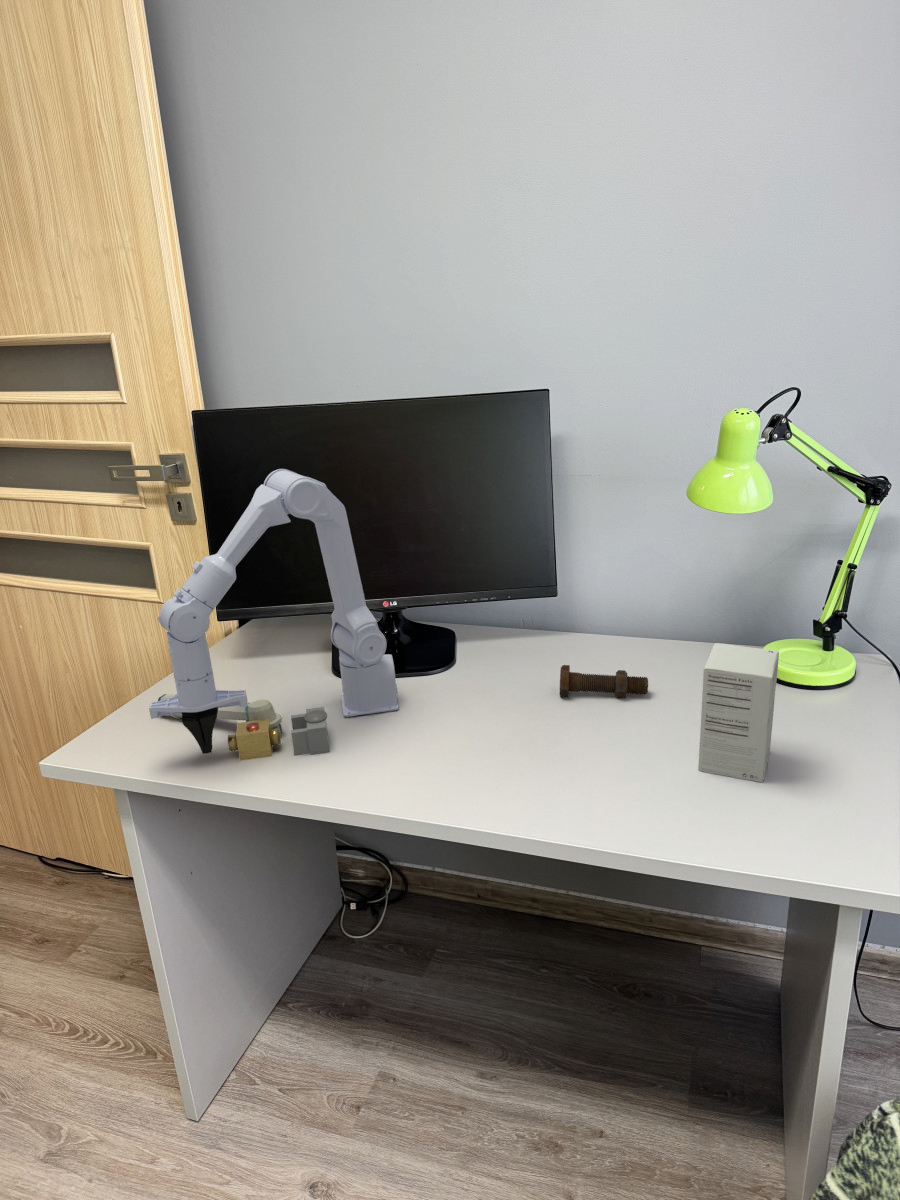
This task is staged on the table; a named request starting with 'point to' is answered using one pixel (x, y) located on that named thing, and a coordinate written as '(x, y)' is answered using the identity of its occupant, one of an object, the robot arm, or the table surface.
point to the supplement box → (737, 711)
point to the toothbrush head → (242, 712)
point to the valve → (254, 739)
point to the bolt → (601, 683)
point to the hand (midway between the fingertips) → (207, 750)
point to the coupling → (310, 732)
